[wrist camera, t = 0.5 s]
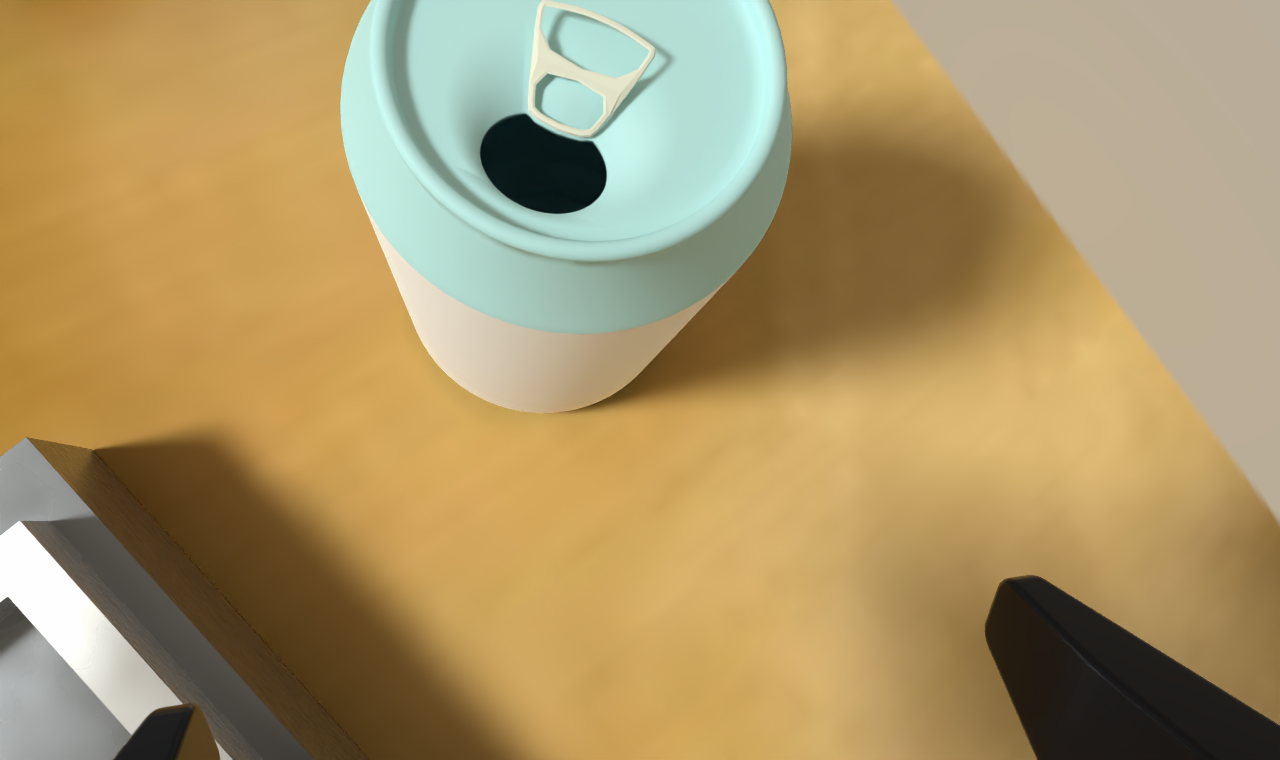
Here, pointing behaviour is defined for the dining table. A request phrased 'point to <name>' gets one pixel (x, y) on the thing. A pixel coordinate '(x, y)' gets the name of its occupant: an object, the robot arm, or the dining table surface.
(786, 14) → the dining table surface
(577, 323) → the can
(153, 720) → the robot arm
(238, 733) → the grey rectangular tray
